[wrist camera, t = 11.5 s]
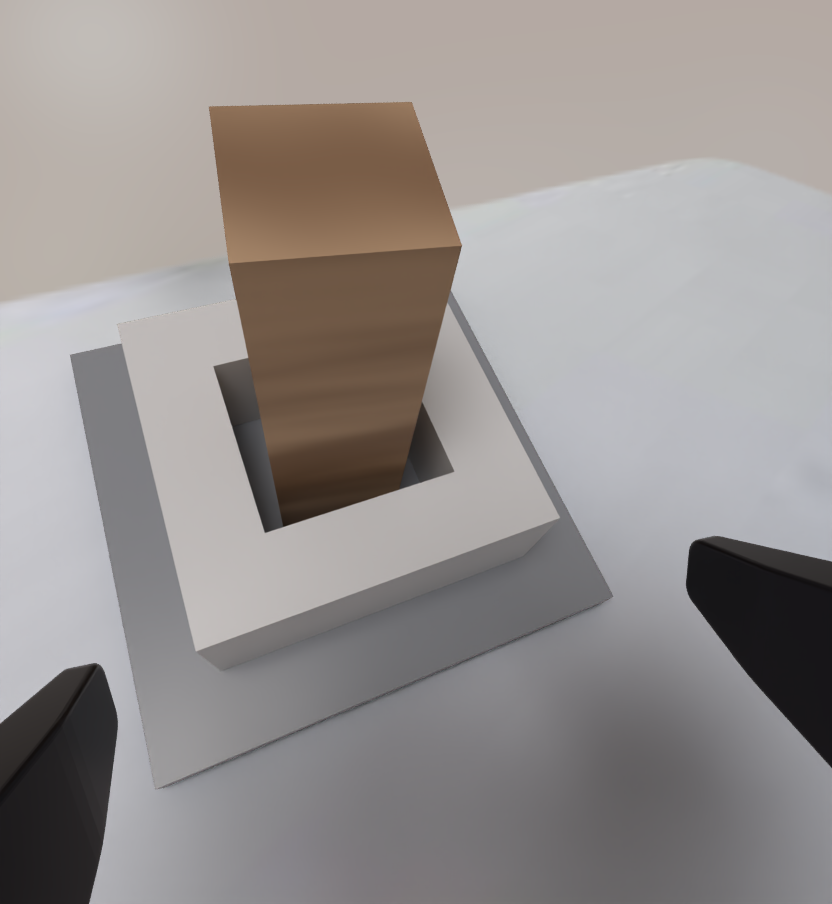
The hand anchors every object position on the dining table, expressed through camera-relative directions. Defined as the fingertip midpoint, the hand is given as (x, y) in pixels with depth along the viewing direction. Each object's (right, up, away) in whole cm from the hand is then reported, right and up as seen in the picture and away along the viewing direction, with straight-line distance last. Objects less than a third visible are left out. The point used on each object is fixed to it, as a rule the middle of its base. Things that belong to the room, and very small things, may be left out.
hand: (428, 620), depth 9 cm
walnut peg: (-3, +2, +14) cm, 14 cm away
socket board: (-4, +1, +14) cm, 15 cm away
